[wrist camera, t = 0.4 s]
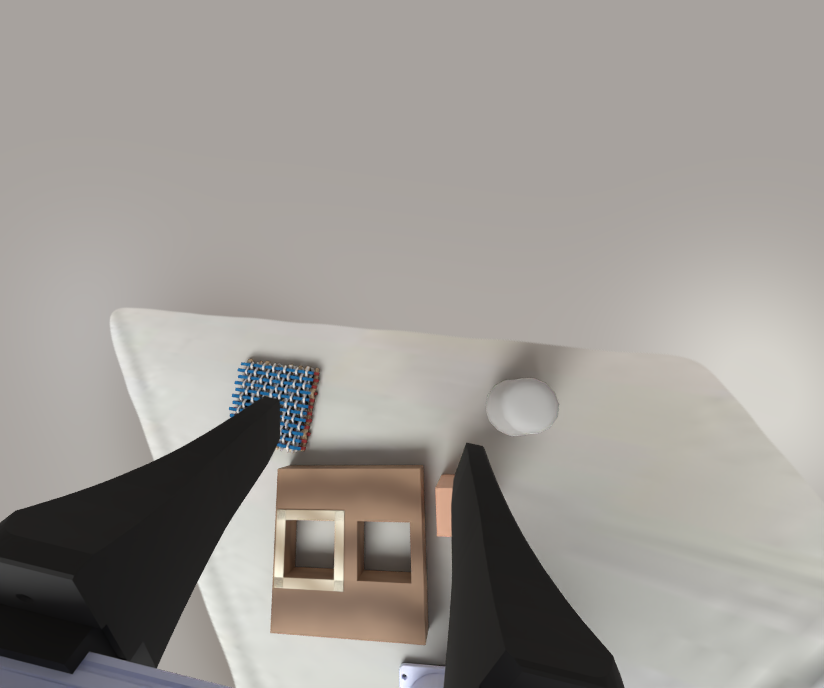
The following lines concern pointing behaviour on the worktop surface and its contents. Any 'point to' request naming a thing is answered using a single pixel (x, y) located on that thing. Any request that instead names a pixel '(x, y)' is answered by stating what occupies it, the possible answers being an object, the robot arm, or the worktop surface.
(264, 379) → the woven mat
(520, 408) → the salt shaker
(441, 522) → the pin
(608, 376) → the worktop surface
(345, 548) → the wooden peg board
